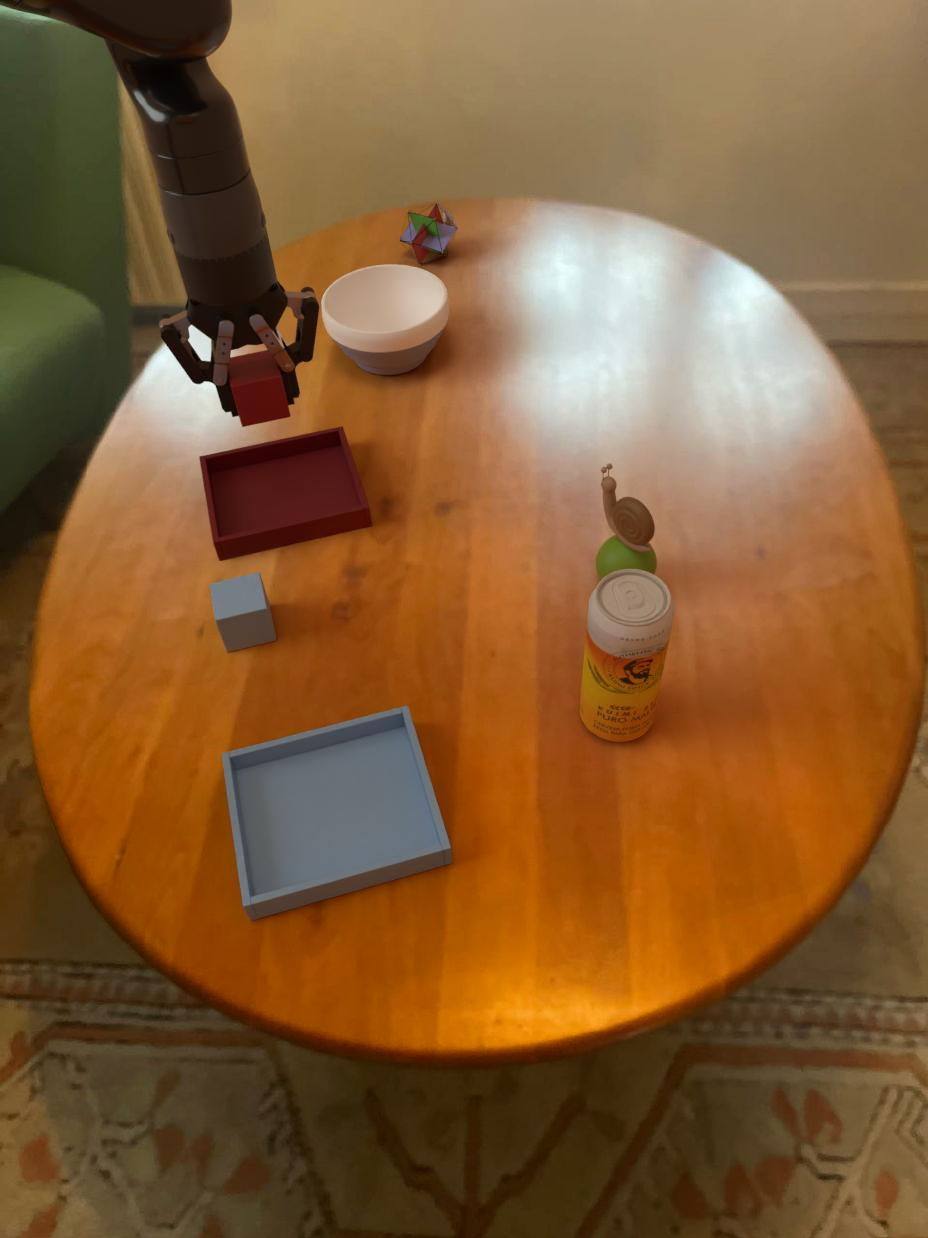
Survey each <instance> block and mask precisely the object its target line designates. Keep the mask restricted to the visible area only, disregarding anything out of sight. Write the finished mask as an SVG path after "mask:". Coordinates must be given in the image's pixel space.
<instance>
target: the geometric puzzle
mask: <svg viewBox="0 0 928 1238" xmlns="http://www.w3.org/2000/svg"><path fill="white" fill-rule="evenodd" d="M425 207H426V205H425V206H422V207H420V209H421V208H425ZM431 207H433V208H432V209H431V211H430V213H428V215H423V214H421V213H423V212H424V211H425V210H428V209H429V208H431ZM440 210H441V211H442V213H441V212H440ZM412 211H413V209H411V210H407V213H406V217H405V221H406V219H408V220H410V221H409V222H408V225H407V227H406V229H405V230H404V232H403V233H402V234H401V235H400V237H399V239H398V241H399V242H400V243H404V244H407V245H410V246H412V248H413V251H414V254H415V256H416V258H414V260H415V261H416V262H418V264H419V266H421V265H423V264H426V263H430V262H434V261H437V260H440V259H443V258H444V257H449V253H450V250H451V249H449V251H448V252H447V250H448V244H450V241H451V240H452V238H455V237H456V233H457V232H458V229H459V227H458V226H457V224H456V221H455V218H454V216H453V215H452V212H451V211H449V210H448V209H447V208H445V207H444V206H442V205H440V203H438V202H434V203H431V204H430V205H429V207H427V208H425V209H424V210H422V211H421V212H419V213H416V212H412ZM441 214H442V215H441ZM405 224H406V222H403V226H402V229H401V231H403V229H404V226H405ZM453 236H454V237H453ZM403 247H404V248H405V249H407V248H406V246H405V245H403ZM429 252H431V253H434V254H436V255H434V256H433V257H430V258H429V259H427V260H426V261H424V260H425V258H426V257H427V256H428V255H427V254H428V253H429ZM408 253H409V254H410V255H412V253H411V252H410V251H408ZM439 255H442V256H444V257H440V258H436V257H438V256H439ZM434 258H436V259H434ZM432 259H433V260H432Z"/></svg>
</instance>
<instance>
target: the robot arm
mask: <svg viewBox="0 0 928 1238" xmlns="http://www.w3.org/2000/svg"><path fill="white" fill-rule="evenodd" d="M0 6H1V7H5V8H9V9H11V10H14V11H19V12H23V13H28V14H31V15H36V16H40V17H45V18H49V19H52V20H56V21H59V22H62V23H65V24H67V25H70V26H72V27H75V28H77V29H79V30H81V31H84V32H86V33H89V34H91V35H94V36H96V37H98V38H101V39H103V42H104V44H105V47H106V48H107V51H108V53H109V55H110V57H111V60H112V62H113V64H114V66H115V69H116V71H117V73H118V75H119V77H120V79H121V82H122V84H123V87H124V88H125V90H126V92H127V95H128V96H129V98H130V100H131V102H132V104H133V106H134V108H135V110H136V113H137V115H138V118H139V120H140V124H141V128H142V132H143V136H144V137H143V138H144V141H145V144H146V148H147V151H148V155H149V157H150V161H151V165H152V168H153V171H154V176H155V179H156V182H157V186H158V192H159V197H160V198H159V199H160V205H161V209H162V214H163V219H164V223H165V225H166V233H167V237H168V239H169V241H170V243H171V245H172V249H173V252H174V255H175V260H176V262H177V263H176V264H177V266H178V269H179V272H180V276H181V280H182V283H183V286H184V290H185V293H186V296H187V298H186V299H187V300H186V303H185V310H182V311H181V312H178V313H176V314H174V315H173V316H172V315H170V314H168V313H163V314H161V315H160V316H159V317H158V328H159V333H160V338H161V340H162V341H163V343H164V344H165V345H166V347H167V349H168V350H169V351H170V352H171V355H173V357H174V359H176V361H177V363H178V364H179V365H180V367H181V368H182V369H183V371H184V372H185V374H186V375H187V376H188V378H189V379H190V380H191V382H192V383H193V384H195V385H201V384H204V382H206V383H211V384H213V386H215V389H216V393H217V397H218V400H219V402H220V406H221V409H222V410H223V411H224V413H231V417H232V418H236V417H239V414H238V410H237V407H236V403H235V400H234V396H233V393H232V389H231V385H230V380H229V375H228V366H229V364H230V357H231V355H232V354H231V353H232V351H234V350H239V349H242V348H244V347H246V346H259V345H264V347H265V348H266V350H268V351H269V353H270V354H271V355H272V356H273V357H274V358H275V360H276V361H277V363H278V365H279V369H280V373H281V376H282V381H283V385H284V389H285V394H286V398H287V402H288V406H293V405H295V404H296V402H295V399H297V398H300V393H301V390H300V387H299V382H298V377H297V371H296V368H297V367H298V365H299V364H300V363H310V362H311V361H312V360H313V358H314V353H315V352H314V351H315V345H316V336H317V328H318V321H319V313H320V304H319V301H318V298H317V296H316V295H317V294H316V293H315V290H314V288H312V287H311V286H305V287H303V288H302V289H300V291H290V290H288V291H287V290H285V288H284V286H283V285H282V284H281V283H280V282H279V281H278V277H277V272H276V267H275V266H276V265H275V262H274V257H273V253H272V247H271V244H270V239H269V233H268V229H267V219H266V215H265V212H264V210H263V205H262V200H261V196H260V193H259V190H258V186H257V184H256V181H255V179H254V176H253V172H252V169H251V166H250V164H251V163H250V160H249V154H248V150H247V146H246V142H245V136H244V132H243V128H242V122H241V118H240V115H239V112H238V107H237V105H236V103H235V100H234V99H233V96H232V94H231V93H230V92H229V90H227V88H226V87H225V86H224V85H223V84H222V82H221V81H220V80H219V79H218V78H217V77H216V75H215V73H214V72H213V70H212V69H211V66H210V64H209V61H208V58H209V57H210V56H211V55H213V54H214V53H215V52H217V50H219V49H220V47H222V45H223V44H224V42H225V40H226V38H227V37H228V34H229V32H230V29H231V25H232V21H233V2H232V0H0ZM287 308H290V309H291V311H292V315H293V317H294V318H295V319H297V320H296V321H297V322H296V329H295V330H296V331H295V338H294V342H292V343H290V344H287V342H286V341H285V339H284V338H283V336H282V334H281V333H280V332H281V331H280V330H279V328H278V324H279V323H280V321H281V319H282V317H283V315H284V313H285V311H286V309H287ZM190 326H192V327H194V328H195V329H197V330H198V331H199V332H200V333H202V334H203V335H205V336H206V337H207V338H208V339H210V346H211V347H210V348H211V349H210V361H209V360H202V359H201V357H200V355H199V354H198V353H197V351H196V350H195V349H194V347H193V346H192V344H191V342H190V341H189V340H190V337H191V335H190V330H189V329H190Z"/></svg>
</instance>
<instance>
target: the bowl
mask: <svg viewBox="0 0 928 1238" xmlns="http://www.w3.org/2000/svg"><path fill="white" fill-rule="evenodd" d="M449 298H450V297H449V294H448V289H447V286H446V285H445V284H444V282H443V280H442V279H440V278H439V277H438V276H437V275H435V274H434V273H432V272H430V271H429V270H426V269H423V268H420V267H417V266H412V265H407V264H397V263H395V264H394V263H393V264H390V263H389V264H388V263H384V264H378V265H377V264H376V265H370V266H366V267H361V268H358V269H355V270H353V271H350V272H349V273H348V272H347V273H346V274H344V275H342V276H341V277H339V278H337V279H336V280H334V281H333V282H332V283H331V284H330V285H329V286H328V287H327V288H326V290H325V292H324V293H323V294H322V298H321V300H320V302H321V303H320V304H321V305H320V306H321V318H322V321H323V325H324V328H325V331H326V332H327V334H328V335H329V336H330V337H331V339H332V341H333V342H334V343H335V344H336V345H337V346H338V347H339V349H341V351H342V352H343V353H344V354H345V356H347V357H348V358H349V359H351V360H352V361H354V362H355V364H356V365H357V366H358V367H359V368H361V370H363V371H365V372H367V373H370V374H374V375H381V376H393V375H394V376H395V375H401V374H405V373H408V372H410V371H412V370H415V369H417V368H418V367H419V366H420V365H422V364H423V363H424V362H425V360H426V358H427V356H428V355H429V354H430V352H431V351H432V350H433V349H434V347H435V346H436V345H437V344H438V341H439V338H440V337H441V336H442V333H443V331H444V330H445V327H446V325H447V322H448V320H449V315H450V299H449Z"/></svg>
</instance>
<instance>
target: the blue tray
mask: <svg viewBox="0 0 928 1238" xmlns="http://www.w3.org/2000/svg"><path fill="white" fill-rule="evenodd" d="M221 762H222V767H223V768H222V769H223V775H224V783H225V790H226V798H227V803H228V804H227V805H228V811H229V819H230V825H231V831H232V832H231V833H232V839H233V846H234V847H233V848H234V854H235V861H236V868H237V874H238V875H237V876H238V881H239V888H240V889H239V890H240V895H241V903H242V907H243V909H244V911H245V913H246V916H247V917H248V919H249V920H250V921H255V920H258V919H261V918H265V917H268V916H272V915H276V914H279V913H282V912H286V911H290V910H293V909H297V908H300V907H303V906H307V905H310V904H314V903H317V902H321V901H324V900H328V899H331V898H335V897H338V896H342V895H346V894H349V893H352V892H357V891H359V890H363V889H366V888H370V887H374V886H377V885H381V884H384V883H388V882H391V881H395V880H398V879H402V878H405V877H409V876H412V875H416V874H419V873H422V872H427V871H430V870H433V869H437V868H440V867H443V866H447V865H450V864H453V863H454V861H453V852H452V845H451V842H450V839H449V835H448V831H447V830H446V829H447V828H446V826H445V823H444V819H443V816H442V813H441V809H440V806H439V802H438V799H437V797H436V796H437V795H436V793H435V790H434V786H433V783H432V780H431V775H430V773H429V770H428V767H427V763H426V760H425V757H424V753H423V750H422V747H421V744H420V740H419V737H418V733H417V730H416V727H415V724H414V721H413V718H412V714H411V711H410V707H409V705H408V704H407V705H403V706H401V707H395V708H392V709H387V710H384V711H381V712H376V713H373V714H369V715H368V714H367V715H365V716H361V717H357V718H353V719H349V720H345V721H341V722H338V723H334V724H329V725H327V726H322V727H318V728H314V729H310V730H307V731H303V732H298V733H296V734H291V735H288V736H283V737H280V738H275V739H272V740H268V741H264V742H261V743H257V744H253V745H249V746H245V747H241V748H237V749H233V750H229V751H225V752H222V753H221Z"/></svg>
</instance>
